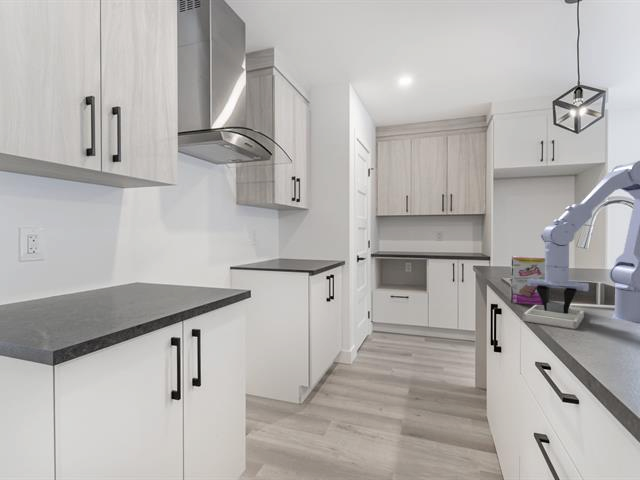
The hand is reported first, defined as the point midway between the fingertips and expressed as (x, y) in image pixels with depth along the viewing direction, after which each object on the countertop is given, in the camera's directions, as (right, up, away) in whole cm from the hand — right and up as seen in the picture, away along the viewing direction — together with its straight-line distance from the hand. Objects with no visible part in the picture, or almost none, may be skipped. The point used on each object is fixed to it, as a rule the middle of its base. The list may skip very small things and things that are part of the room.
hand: (556, 312), depth 100 cm
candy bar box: (+3, -1, +18) cm, 18 cm away
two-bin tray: (-2, -2, -3) cm, 4 cm away
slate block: (0, -1, 0) cm, 1 cm away
